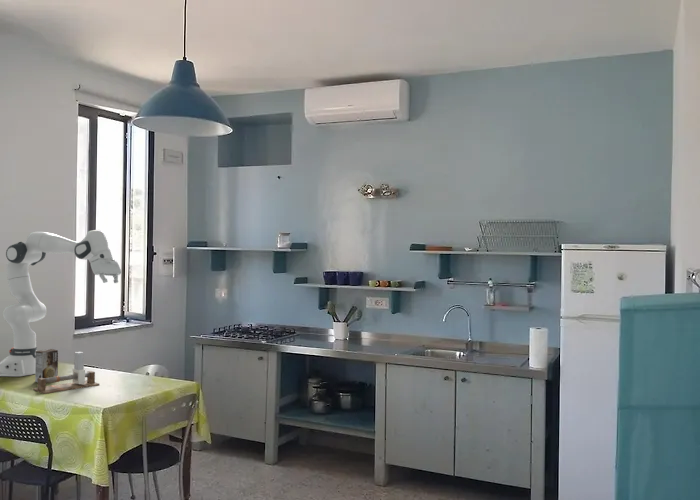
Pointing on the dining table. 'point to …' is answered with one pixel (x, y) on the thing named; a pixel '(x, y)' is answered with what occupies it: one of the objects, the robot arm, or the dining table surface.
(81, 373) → the collar
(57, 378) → the pipe stand
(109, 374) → the dining table surface
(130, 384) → the dining table surface
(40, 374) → the coffee box
